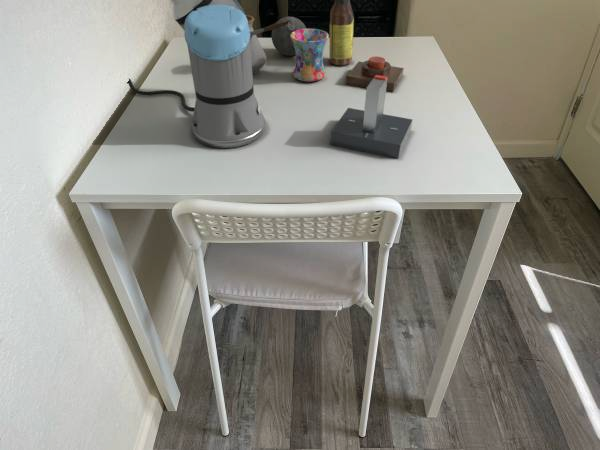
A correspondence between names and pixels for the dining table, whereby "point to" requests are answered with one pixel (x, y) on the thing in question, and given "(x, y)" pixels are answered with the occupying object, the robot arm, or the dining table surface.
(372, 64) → the button
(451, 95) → the dining table surface
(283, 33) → the decorative ball
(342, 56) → the sauce bottle
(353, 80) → the button block
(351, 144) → the panel
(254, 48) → the coffee pot
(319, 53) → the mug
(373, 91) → the tap handle
